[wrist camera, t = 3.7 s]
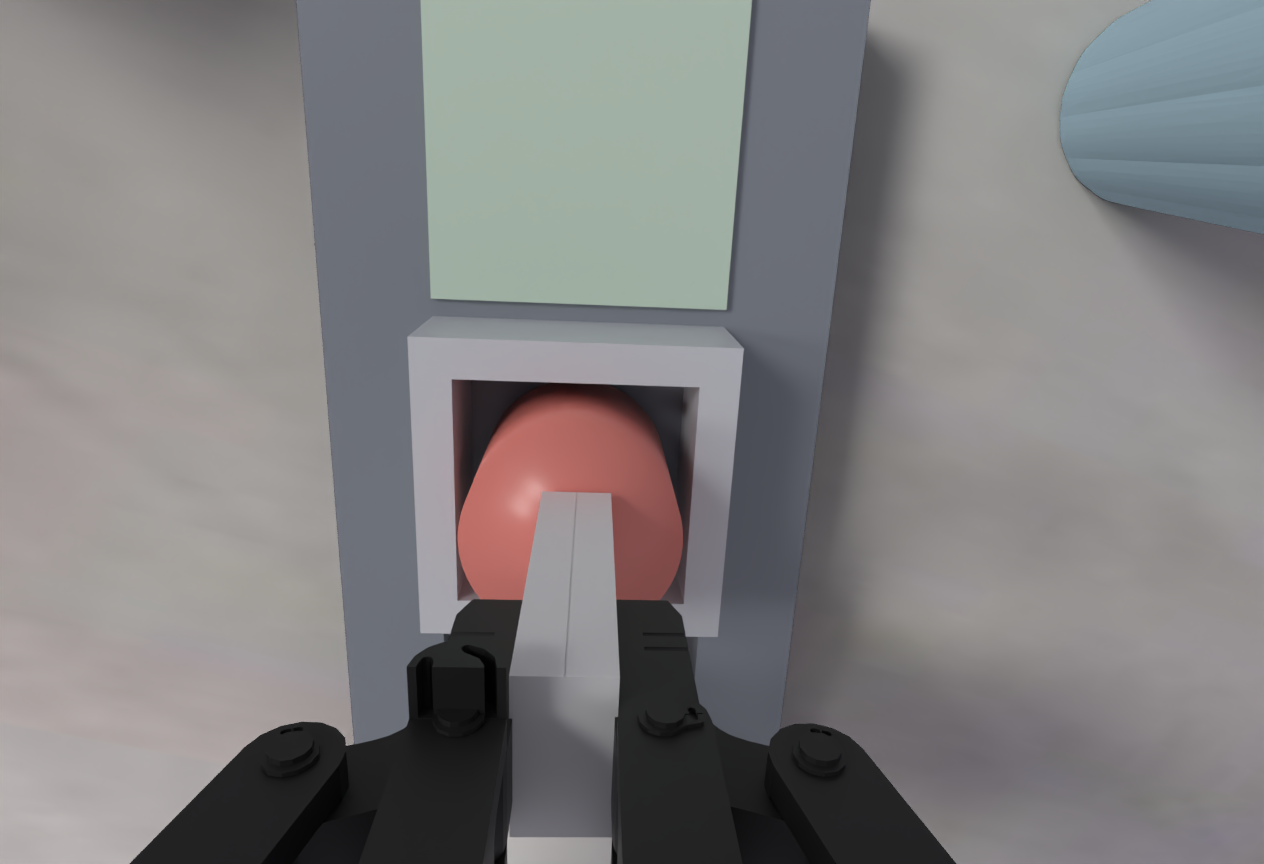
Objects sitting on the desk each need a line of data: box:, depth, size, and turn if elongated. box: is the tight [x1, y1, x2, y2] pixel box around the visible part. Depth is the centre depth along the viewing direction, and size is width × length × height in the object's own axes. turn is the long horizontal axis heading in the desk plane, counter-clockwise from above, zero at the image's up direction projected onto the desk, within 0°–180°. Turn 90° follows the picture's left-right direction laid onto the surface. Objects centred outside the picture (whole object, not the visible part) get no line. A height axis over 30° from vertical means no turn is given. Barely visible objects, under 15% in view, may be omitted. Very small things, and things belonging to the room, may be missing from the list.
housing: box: [296, 0, 871, 746], centre depth 22 cm, size 14×27×6 cm, turn 178°
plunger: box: [458, 383, 683, 600], centre depth 19 cm, size 5×5×5 cm
